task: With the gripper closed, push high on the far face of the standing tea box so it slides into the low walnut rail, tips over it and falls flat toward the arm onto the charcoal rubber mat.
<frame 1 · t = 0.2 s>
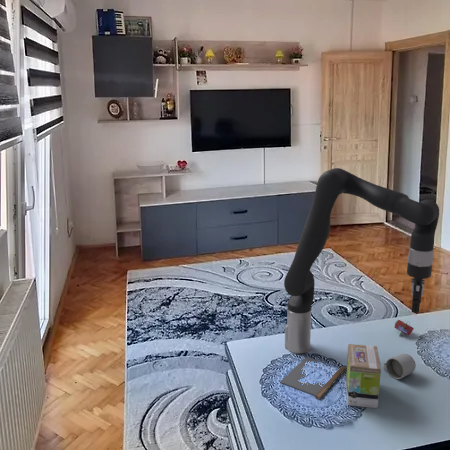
hand: (415, 307, 164), 29 cm above the table, fingers open, 8 cm apart
tea box: (361, 394, 167), on the table
ceramic mug: (396, 373, 178), on the table
geometric puzzle: (403, 335, 205), on the table
rail: (331, 383, 173), on the table
mat: (310, 375, 178), on the table
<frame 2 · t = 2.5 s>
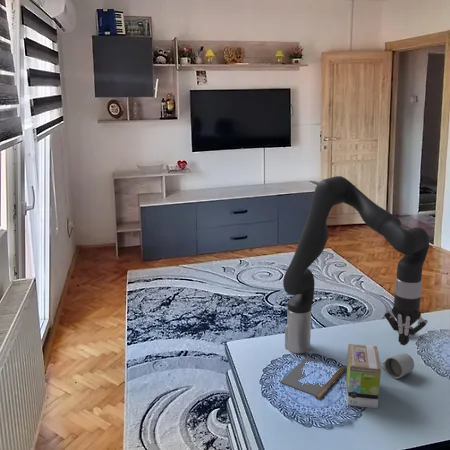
hand: (403, 344, 153), 23 cm above the table, fingers closed
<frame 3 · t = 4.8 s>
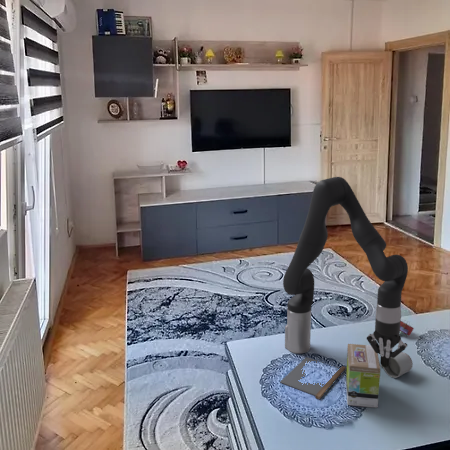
hand: (385, 366, 159), 13 cm above the table, fingers closed
tea box: (361, 394, 167), on the table, touching gripper
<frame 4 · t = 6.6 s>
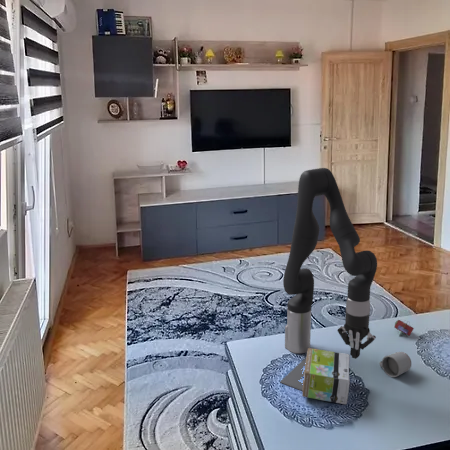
hand: (354, 357, 165), 13 cm above the table, fingers closed
tea box: (349, 378, 166), point 6 cm above the table, touching rail
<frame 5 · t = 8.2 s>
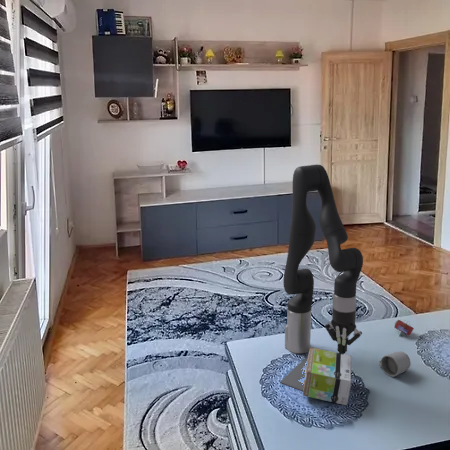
hand: (342, 353, 167), 13 cm above the table, fingers closed
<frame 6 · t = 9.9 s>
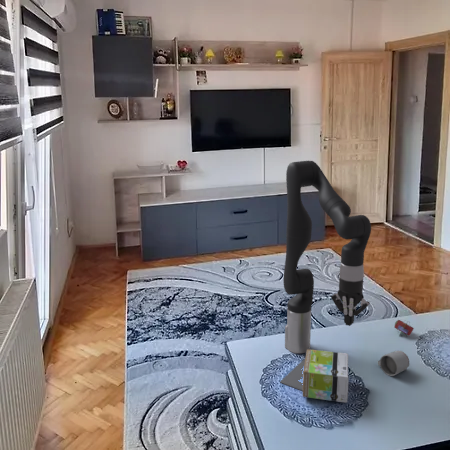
hand: (348, 324, 163), 24 cm above the table, fingers closed
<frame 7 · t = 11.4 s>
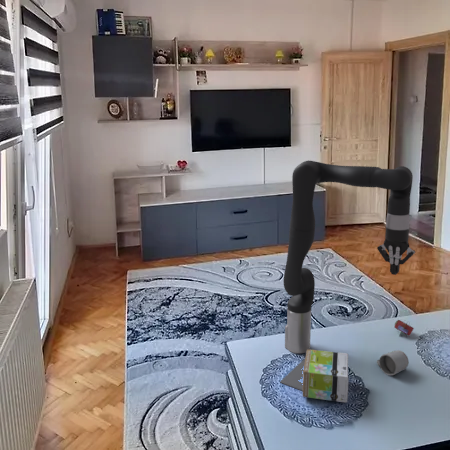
hand: (394, 273, 171), 37 cm above the table, fingers closed
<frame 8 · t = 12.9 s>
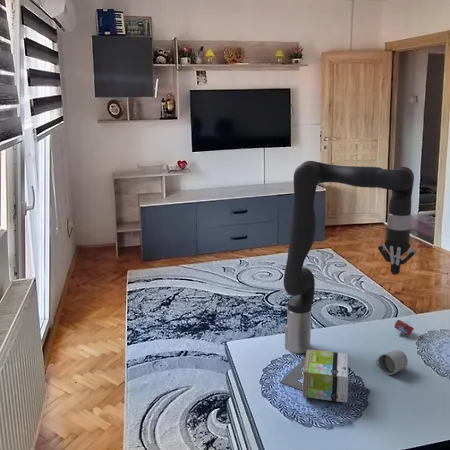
hand: (395, 273, 172), 37 cm above the table, fingers closed
at the end: tea box tilted 90°; tea box inside the target area (12.1 cm from its centre), point 6.0 cm above the table; tea box moved 7.5 cm from its start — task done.
